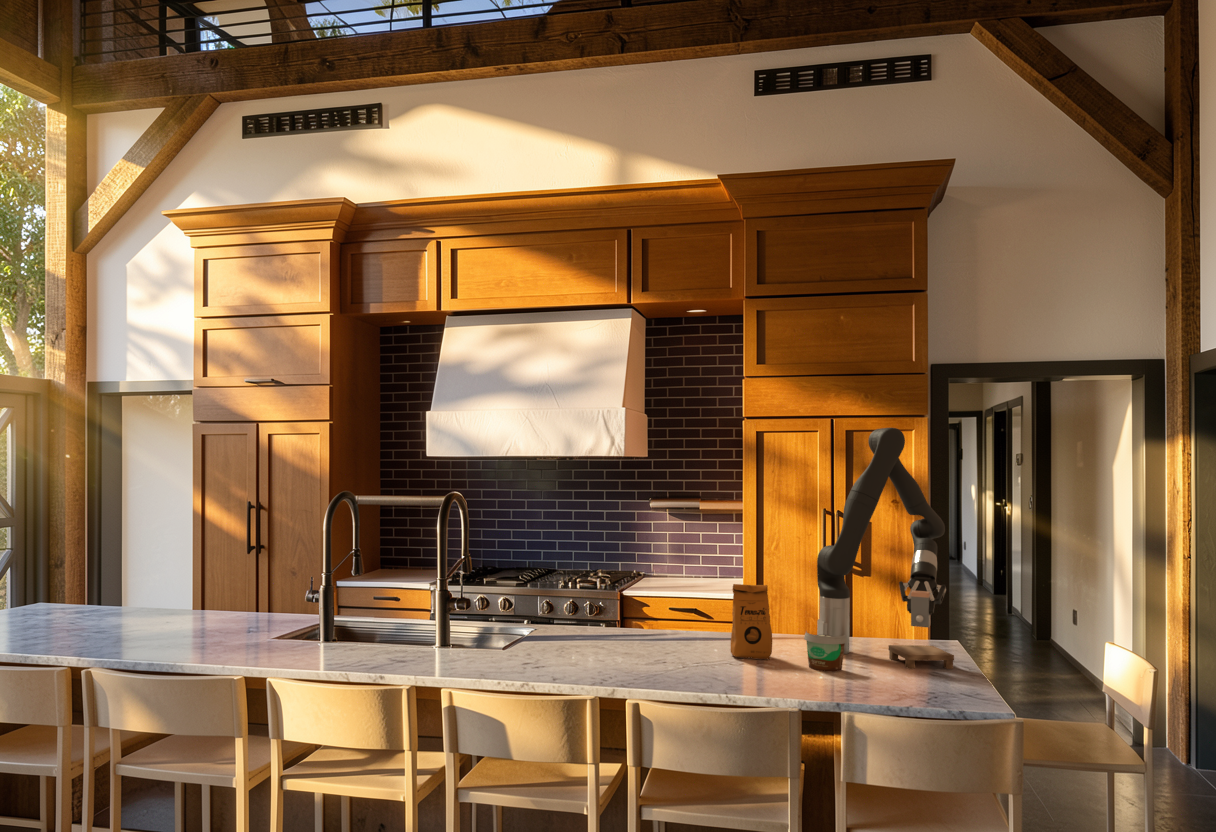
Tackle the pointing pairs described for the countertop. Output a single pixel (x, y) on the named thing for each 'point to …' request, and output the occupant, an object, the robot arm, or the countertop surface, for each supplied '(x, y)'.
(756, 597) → the coffee package
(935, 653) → the walnut stand
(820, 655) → the food container
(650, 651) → the countertop surface
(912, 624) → the block
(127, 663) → the countertop surface
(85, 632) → the countertop surface
